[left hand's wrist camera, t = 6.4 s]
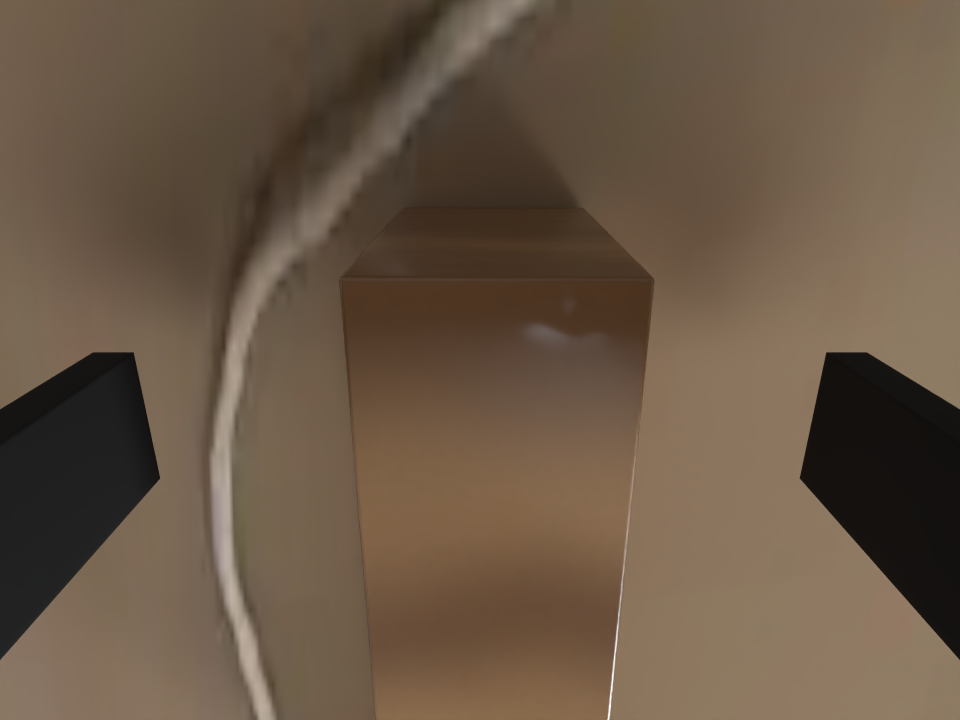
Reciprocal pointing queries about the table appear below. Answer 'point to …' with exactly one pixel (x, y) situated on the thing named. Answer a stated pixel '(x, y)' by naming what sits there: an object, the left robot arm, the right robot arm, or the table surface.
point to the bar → (494, 457)
